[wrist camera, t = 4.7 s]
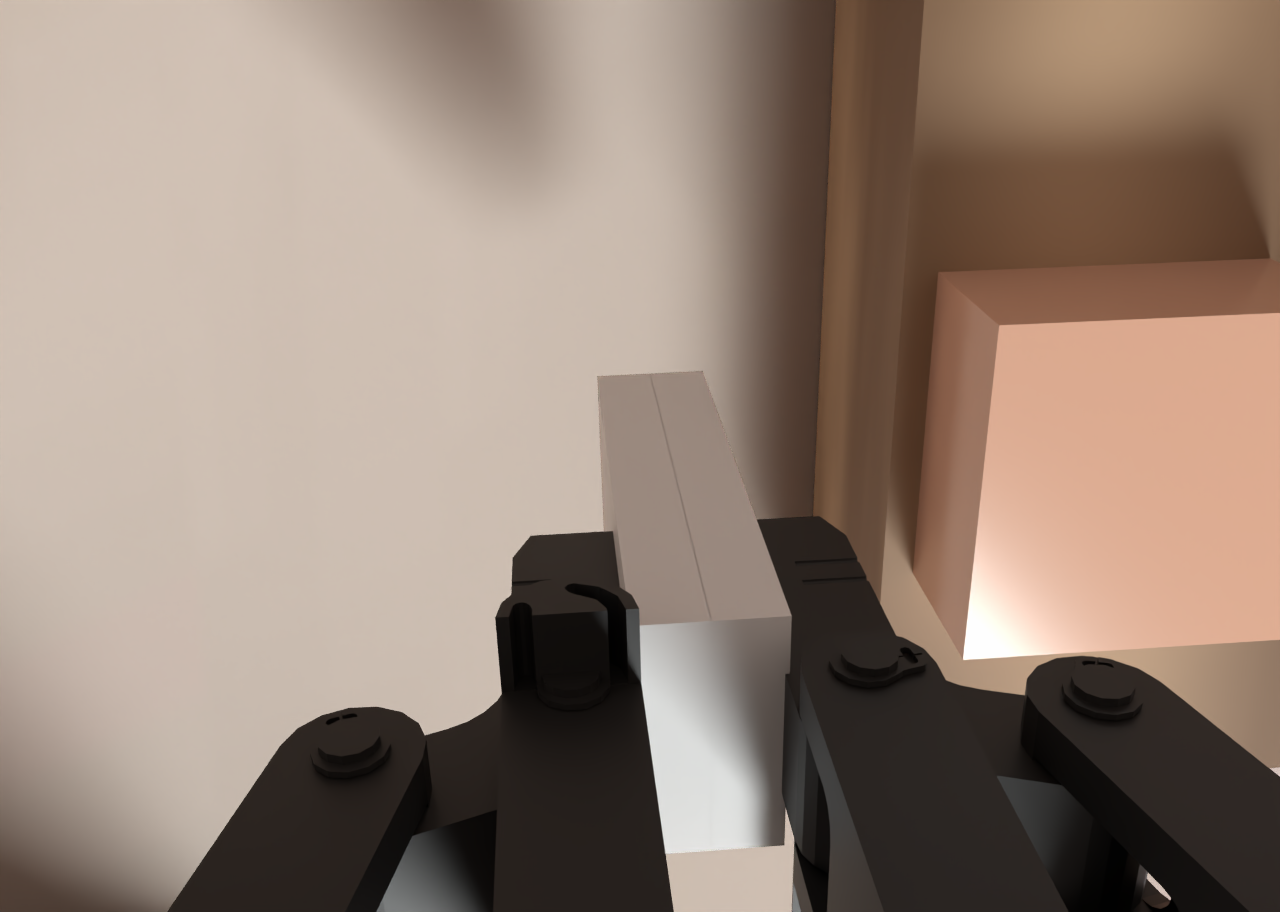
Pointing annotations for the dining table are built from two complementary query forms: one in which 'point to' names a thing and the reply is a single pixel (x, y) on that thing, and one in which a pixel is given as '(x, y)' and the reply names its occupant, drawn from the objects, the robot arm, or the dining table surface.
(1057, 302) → the terracotta tile
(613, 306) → the dining table surface
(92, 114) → the dining table surface
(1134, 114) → the brown block
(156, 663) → the dining table surface
